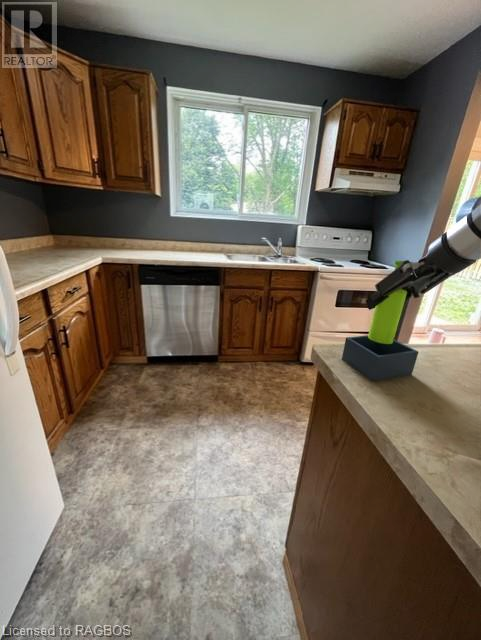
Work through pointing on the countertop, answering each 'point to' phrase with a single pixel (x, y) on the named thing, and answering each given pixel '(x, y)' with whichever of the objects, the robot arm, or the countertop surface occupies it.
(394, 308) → the soap dispenser
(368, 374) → the box
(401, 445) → the countertop surface
